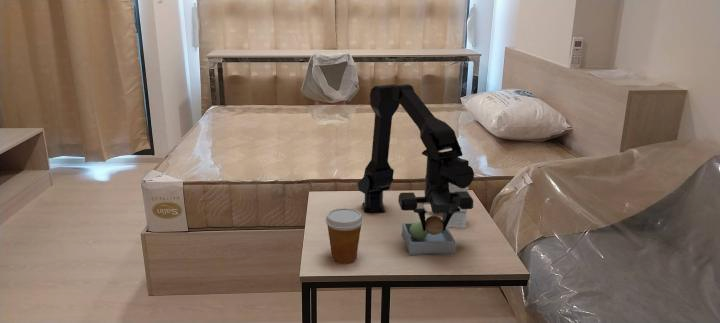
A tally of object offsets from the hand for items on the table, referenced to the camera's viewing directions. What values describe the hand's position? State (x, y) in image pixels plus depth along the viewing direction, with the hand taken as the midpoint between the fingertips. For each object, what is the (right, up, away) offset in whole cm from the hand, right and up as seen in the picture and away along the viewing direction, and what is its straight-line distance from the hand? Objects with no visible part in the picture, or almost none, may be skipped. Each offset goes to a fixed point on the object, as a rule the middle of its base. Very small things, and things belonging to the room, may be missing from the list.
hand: (433, 230), depth 142 cm
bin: (-1, -4, +3) cm, 5 cm away
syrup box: (+9, 0, +16) cm, 18 cm away
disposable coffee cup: (-24, -7, -4) cm, 25 cm away
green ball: (-3, -3, +5) cm, 7 cm away
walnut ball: (0, -1, 0) cm, 1 cm away
